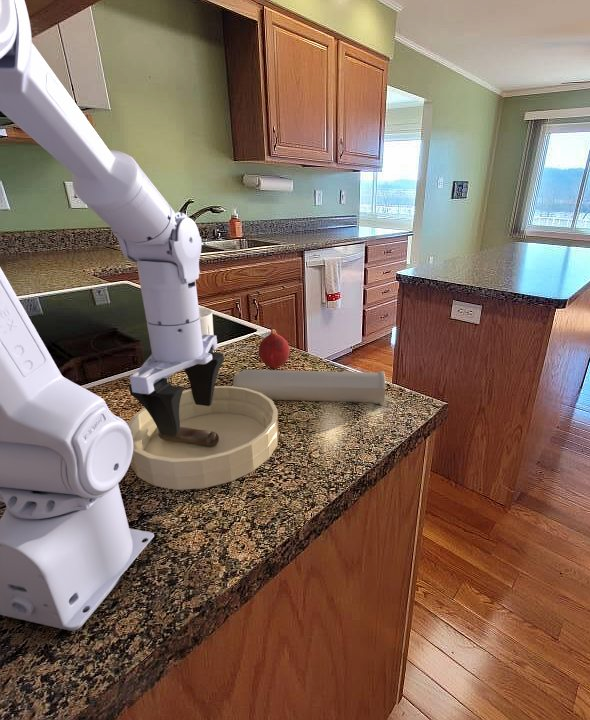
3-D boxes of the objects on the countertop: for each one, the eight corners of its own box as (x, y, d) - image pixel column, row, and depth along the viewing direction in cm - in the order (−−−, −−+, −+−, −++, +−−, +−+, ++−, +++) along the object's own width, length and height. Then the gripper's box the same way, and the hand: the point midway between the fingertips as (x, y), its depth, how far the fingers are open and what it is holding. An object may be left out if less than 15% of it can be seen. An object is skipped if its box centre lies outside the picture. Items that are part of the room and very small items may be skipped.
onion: (295, 371, 76) (294, 332, 73) (266, 377, 73) (264, 337, 70) (283, 360, 81) (281, 323, 78) (255, 366, 78) (252, 327, 75)
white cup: (181, 354, 81) (174, 306, 78) (221, 354, 82) (216, 307, 78) (168, 370, 74) (160, 318, 70) (211, 369, 75) (206, 319, 71)
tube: (225, 384, 61) (385, 388, 62) (233, 361, 65) (384, 365, 66) (231, 407, 65) (383, 410, 66) (239, 384, 69) (382, 387, 70)
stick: (223, 436, 53) (218, 429, 52) (217, 450, 52) (212, 443, 51) (166, 428, 54) (159, 421, 53) (159, 441, 53) (152, 434, 52)
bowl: (242, 505, 44) (239, 472, 42) (95, 480, 46) (86, 448, 44) (296, 420, 60) (295, 394, 59) (186, 405, 63) (182, 379, 61)
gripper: (166, 342, 40) (183, 454, 45) (234, 306, 53) (241, 396, 58) (102, 335, 40) (127, 446, 46) (185, 301, 54) (197, 390, 59)
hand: (187, 418), depth 52 cm, fingers open, 7 cm apart
